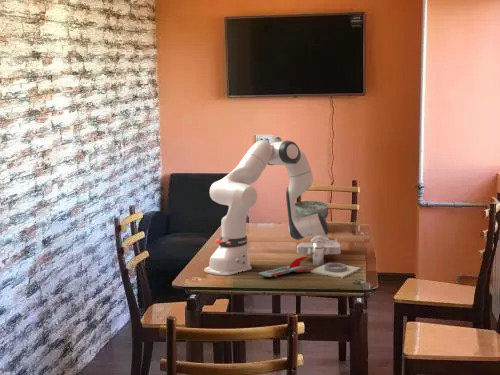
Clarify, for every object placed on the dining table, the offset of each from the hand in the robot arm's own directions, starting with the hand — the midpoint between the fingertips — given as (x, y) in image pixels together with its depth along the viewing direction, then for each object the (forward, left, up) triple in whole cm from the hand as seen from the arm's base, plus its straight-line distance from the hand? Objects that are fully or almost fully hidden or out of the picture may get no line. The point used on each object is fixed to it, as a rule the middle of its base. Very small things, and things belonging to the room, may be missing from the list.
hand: (318, 253), depth 330 cm
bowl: (+57, +39, -6) cm, 69 cm away
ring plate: (-4, -12, -6) cm, 13 cm away
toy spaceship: (-20, +4, -5) cm, 21 cm away
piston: (+1, 0, -6) cm, 6 cm away
